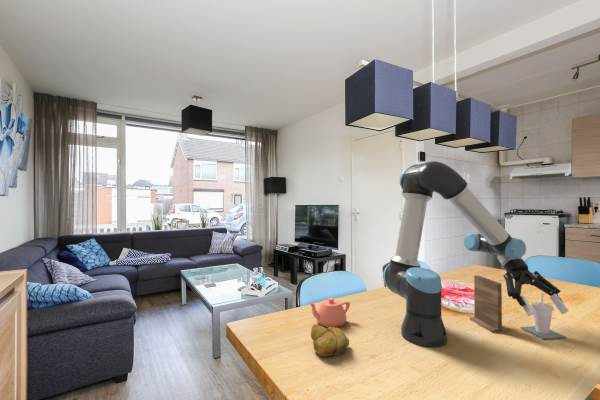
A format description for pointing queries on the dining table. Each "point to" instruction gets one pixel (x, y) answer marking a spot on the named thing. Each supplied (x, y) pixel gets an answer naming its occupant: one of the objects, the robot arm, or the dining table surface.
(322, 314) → the teapot
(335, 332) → the bread roll
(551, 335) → the coaster
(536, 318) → the smoothie
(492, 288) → the screen
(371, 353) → the dining table surface
